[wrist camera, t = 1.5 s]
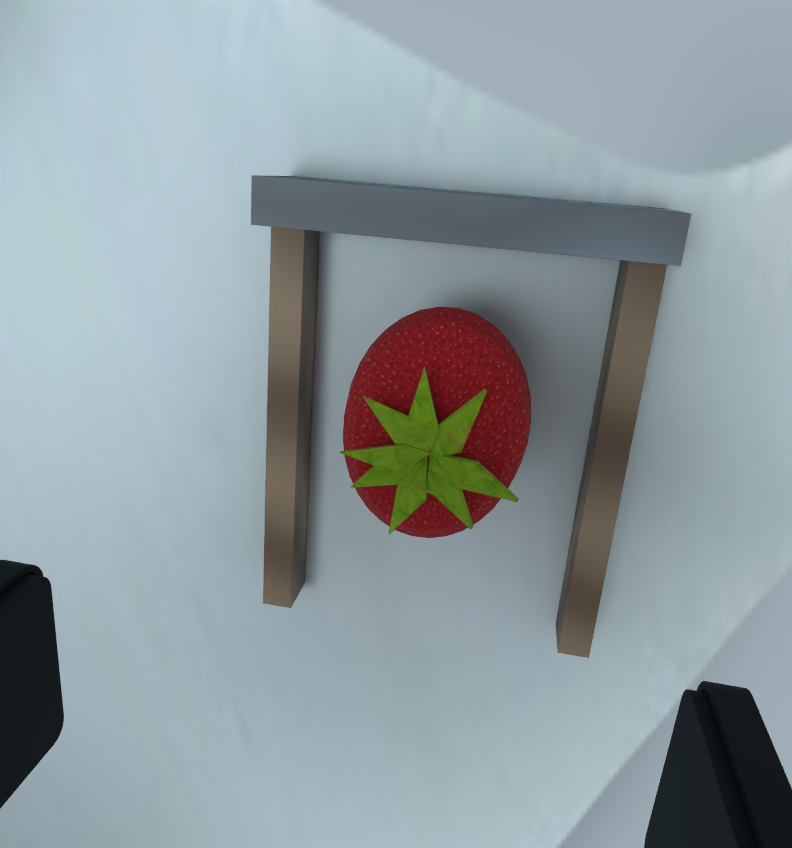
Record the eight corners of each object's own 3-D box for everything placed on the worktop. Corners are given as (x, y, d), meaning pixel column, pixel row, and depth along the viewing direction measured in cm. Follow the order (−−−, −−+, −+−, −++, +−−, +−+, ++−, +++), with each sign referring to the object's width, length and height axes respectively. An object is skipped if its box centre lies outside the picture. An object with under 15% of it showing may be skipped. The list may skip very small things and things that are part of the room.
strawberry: (549, 299, 27) (564, 364, 17) (505, 484, 29) (497, 628, 20) (392, 269, 27) (323, 316, 18) (363, 453, 30) (289, 579, 20)
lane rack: (584, 628, 31) (593, 691, 27) (278, 578, 32) (246, 630, 29) (666, 208, 25) (690, 213, 21) (289, 176, 27) (251, 175, 23)
